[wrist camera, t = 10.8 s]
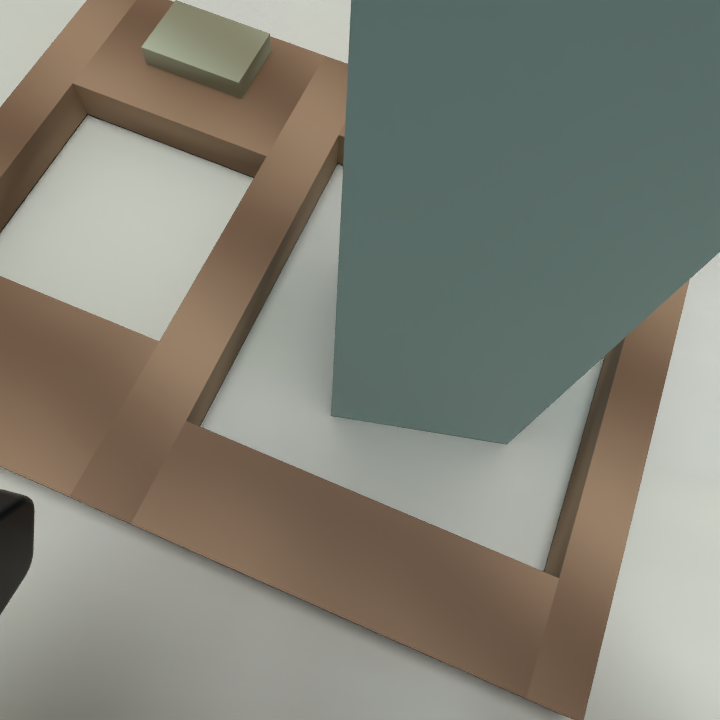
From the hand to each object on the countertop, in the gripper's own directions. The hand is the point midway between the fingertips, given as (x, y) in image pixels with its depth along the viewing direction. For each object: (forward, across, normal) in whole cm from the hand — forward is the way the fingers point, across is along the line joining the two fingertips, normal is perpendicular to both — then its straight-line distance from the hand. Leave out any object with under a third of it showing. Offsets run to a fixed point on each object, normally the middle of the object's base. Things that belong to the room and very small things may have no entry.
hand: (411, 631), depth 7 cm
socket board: (+11, +4, 0) cm, 12 cm away
